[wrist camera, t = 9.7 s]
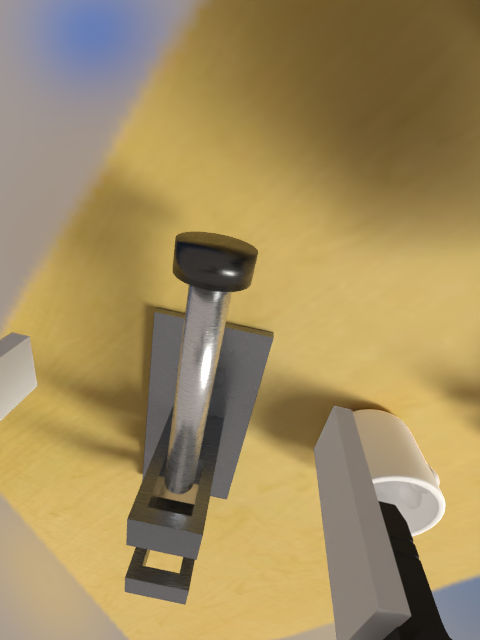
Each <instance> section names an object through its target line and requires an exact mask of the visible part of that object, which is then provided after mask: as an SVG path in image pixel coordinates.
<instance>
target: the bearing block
mask: <svg viewBox="0 0 480 640" xmlns="http://www.w3.org/2000/svg"><path fill="white" fill-rule="evenodd" d="M184 320H185V313H180V312H175V311H171V310H166V309H162V308H157V309H156V311H155V312H154V326H153V340H152V354H151V368H150V382H149V396H148V410H147V424H146V438H145V452H144V466H143V480H142V484H141V486H140V489H139V491H138V494H137V496H136V499H135V501H134V504H133V506H132V509H131V511H130V514H129V516H128V519H127V544H126V545H130V546H134V547H136V548H135V551H134V554H133V557H132V560H131V563H130V565H129V568H128V571H127V574H126V577H125V592H128V593H133V594H138V595H142V596H147V597H152V598H157V599H161V600H166V601H171V602H176V603H180V604H185V603H186V599H187V595H188V592H189V587H190V581H191V576H192V571H193V566H194V561H195V559H196V560H197V556H198V552H199V548H200V544H201V540H202V536H203V531H204V525H205V520H206V515H207V509H208V504H209V499H210V496H213V497H217V498H222V499H227V496H228V493H229V490H230V486H231V483H232V479H233V476H234V472H235V469H236V465H237V462H238V459H239V455H240V452H241V448H242V445H243V441H244V438H245V434H246V431H247V427H248V424H249V421H250V417H251V414H252V410H253V407H254V403H255V400H256V396H257V393H258V389H259V386H260V383H261V379H262V376H263V372H264V369H265V365H266V362H267V358H268V355H269V352H270V348H271V345H272V341H273V333H272V332H267V331H263V330H258V329H254V328H249V327H244V326H240V325H235V324H231V323H225V329H224V334H223V339H222V344H221V349H220V354H219V359H218V364H217V369H216V374H215V379H214V384H213V389H212V394H211V399H210V404H209V409H208V414H207V419H206V425H205V430H204V435H203V440H202V445H201V450H200V455H199V460H198V465H197V470H196V475H195V480H194V484H197V485H199V486H198V491H197V495H196V499H195V504H190V503H185V502H180V501H176V500H171V499H166V498H162V497H157V496H158V494H159V491H160V488H161V485H162V482H163V479H164V478H165V472H166V464H167V456H168V448H169V440H170V432H171V424H172V416H173V408H174V400H175V392H176V384H177V376H178V368H179V360H180V352H181V344H182V336H183V328H184ZM150 550H153V551H158V552H163V553H167V554H172V555H177V556H182V557H183V561H182V565H181V570H180V574H179V573H175V572H170V571H165V570H160V569H156V568H151V567H146V566H145V565H146V562H147V559H148V556H149V552H150Z"/></svg>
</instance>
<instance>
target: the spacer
mask: <svg viewBox="0 0 480 640" xmlns="http://www.w3.org/2000/svg"><path fill="white" fill-rule="evenodd" d="M164 480H165V478H164V479H163V482H162V485H161V488H160V491H159V494H158V496H157V497H162V498H166V499H171V500H176V501H180V502H185V503H190V504H195V499H196V495H197V491H198V486H199V485H197V484H193V487H192V488H191V489H190V490H189V491H188V492H186V493H184V494H173V493H171V492H170V491H169V490H168V489H167V488H166V486H165V482H164Z"/></svg>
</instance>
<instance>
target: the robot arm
mask: <svg viewBox="0 0 480 640" xmlns="http://www.w3.org/2000/svg"><path fill="white" fill-rule="evenodd" d="M36 387H37V380H36V374H35V368H34V361H33V355H32V349H31V342H30V336H26V335H21V334H17V333H10V334H9V335H7V336H6V337H4V338H3V339H1V340H0V421H1V420H2V419H3V418H4V417H5V416H6V415H7V414H8V413H9V412H10V411H11V410H13V409H14V408H15V407H16V406H17V405H18V404H19V403H20V402H21V401H22V400H23V399H24V398H25V397H26V396H27V395H28V394H29V393H30V392H32V391H33V390H34V389H35V388H36ZM314 454H315V462H316V471H317V479H318V487H319V496H320V504H321V512H322V521H323V529H324V537H325V546H326V554H327V562H328V571H329V579H330V587H331V596H332V604H333V612H334V621H335V629H336V637H337V640H452V639H451V638H450V637H449V636H448V634H447V632H446V630H445V628H444V626H443V623H442V621H441V618H440V615H439V612H438V610H437V607H436V604H435V601H434V598H433V595H432V592H431V590H430V587H429V584H428V581H427V578H426V575H425V572H424V570H423V567H422V564H421V561H420V560H419V555H418V552H417V550H416V547H415V545H414V544H413V538H412V535H411V533H410V530H409V527H408V524H407V522H406V520H405V519H404V517H403V516H402V514H401V513H400V511H399V510H398V508H397V507H396V505H394V504H390V503H385V502H381V501H378V499H377V495H376V492H375V488H374V485H373V481H372V478H371V474H370V471H369V467H368V464H367V460H366V457H365V454H364V450H363V447H362V443H361V440H360V436H359V433H358V429H357V426H356V422H355V419H354V416H353V412H352V409H347V408H343V407H338V406H333V408H332V411H331V413H330V415H329V417H328V419H327V422H326V424H325V426H324V428H323V430H322V432H321V435H320V437H319V439H318V441H317V443H316V445H315V448H314Z"/></svg>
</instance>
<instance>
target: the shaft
mask: <svg viewBox="0 0 480 640" xmlns="http://www.w3.org/2000/svg"><path fill="white" fill-rule="evenodd" d="M257 255H258V251H257V249H256V248H255V247H253V246H252V245H250V244H248V243H246V242H244V241H242V240H239V239H236V238H233V237H229V236H225V235H220V234H215V233H207V232H185V233H181V234H178V235H177V236H176V239H175V249H174V260H173V274H174V275H175V276H176V277H177V278H178V279H179V280H181V281H183V282H184V283H187V284H189V288H188V296H187V304H186V312H185V320H184V328H183V336H182V344H181V352H180V360H179V368H178V376H177V384H176V392H175V400H174V408H173V416H172V424H171V432H170V440H169V448H168V456H167V464H166V472H165V480H164V482H165V486H166V488H167V489H168V490H169V491H170V492H171V493H173V494H184V493H186V492H188V491H189V490H190V489H191V488H192V487H193V484H194V480H195V475H196V470H197V465H198V460H199V455H200V450H201V445H202V440H203V435H204V430H205V425H206V419H207V414H208V409H209V404H210V399H211V394H212V389H213V384H214V379H215V374H216V369H217V364H218V359H219V354H220V349H221V344H222V339H223V334H224V329H225V323H226V318H227V313H228V308H229V303H230V298H231V293H232V292H236V291H241V290H244V289H246V288H248V287H249V286H250V285H251V281H252V277H253V273H254V268H255V264H256V259H257Z"/></svg>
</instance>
